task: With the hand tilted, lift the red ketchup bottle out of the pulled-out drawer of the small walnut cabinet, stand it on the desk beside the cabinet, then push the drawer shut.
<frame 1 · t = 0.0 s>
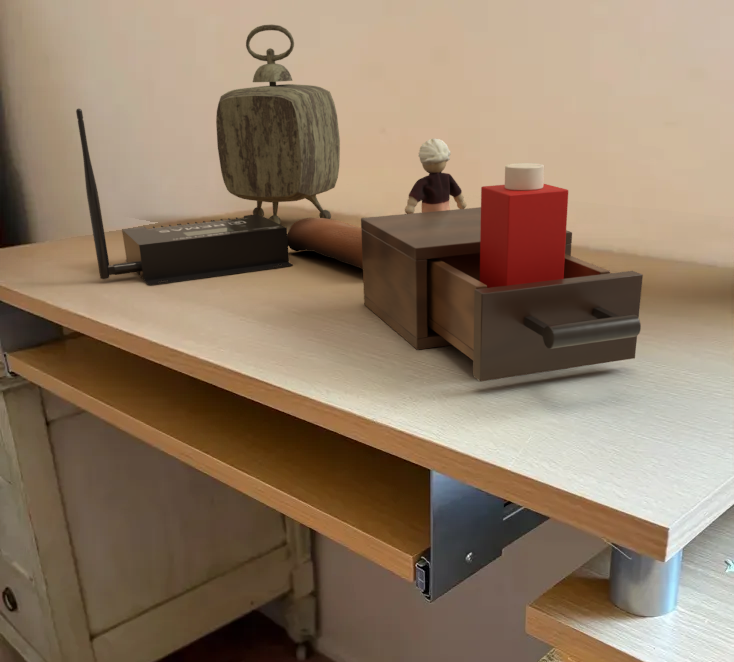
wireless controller: (189, 266, 93), on the table
tabletop clock: (282, 226, 114), on the table
cabinet: (459, 316, 71), on the table
sunglasses case: (356, 262, 92), on the table
ketchup bottle: (518, 328, 60), point 2 cm above the table, touching drawer
rook chess piece: (538, 271, 85), on the table
grandmother figurine: (434, 261, 91), on the table
drawer: (532, 311, 58), point 4 cm above the table, slide at 9.0 cm, touching ketchup bottle
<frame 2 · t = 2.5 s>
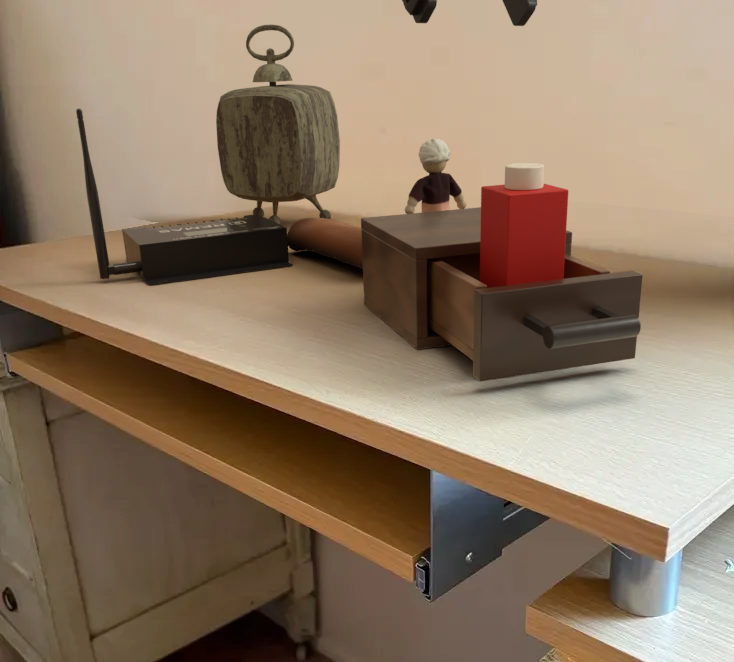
hand: (478, 16, 59), 23 cm above the table, tool tilted 40°, fingers open, 8 cm apart
nothing on the table moved.
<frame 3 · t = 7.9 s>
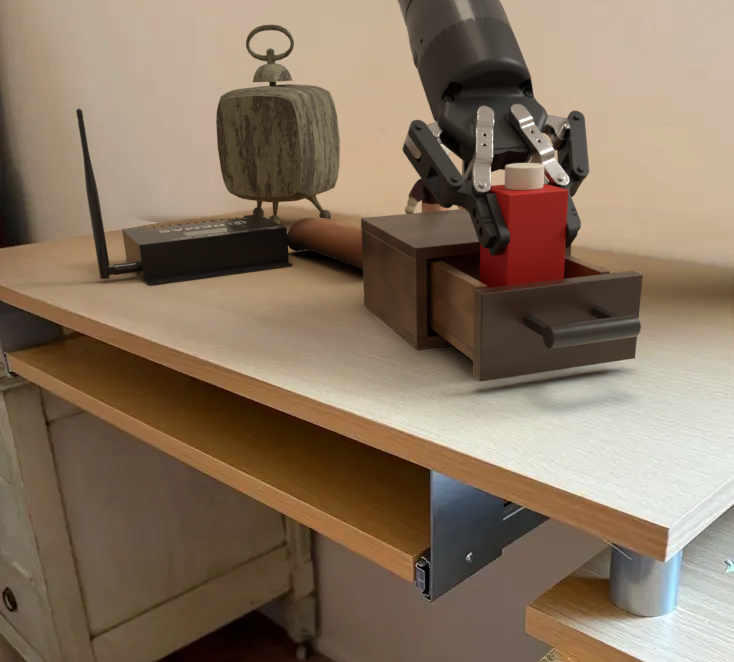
hand: (535, 244, 56), 9 cm above the table, tool tilted 45°, fingers closed on ketchup bottle, 4 cm apart
ketchup bottle: (518, 328, 60), point 2 cm above the table, touching drawer, gripper
everything else where it was.
when the fingers open (6 cm above the table, at t = 15.9 s): ketchup bottle stays where it is, on the table.
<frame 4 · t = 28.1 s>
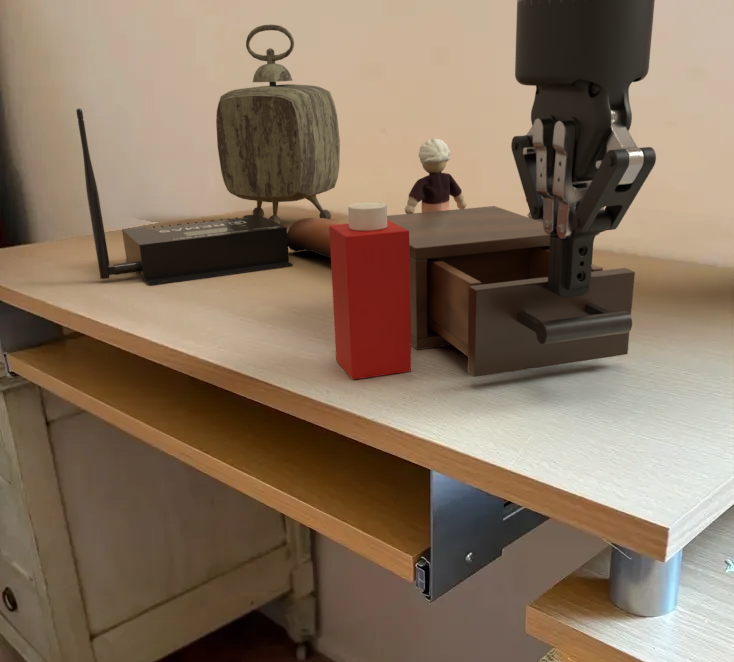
hand: (567, 293, 53), 6 cm above the table, tool pointing down, fingers closed
ketchup bottle: (372, 365, 60), on the table
drawer: (526, 307, 59), point 4 cm above the table, slide at 8.1 cm, touching gripper
everything else where it was.
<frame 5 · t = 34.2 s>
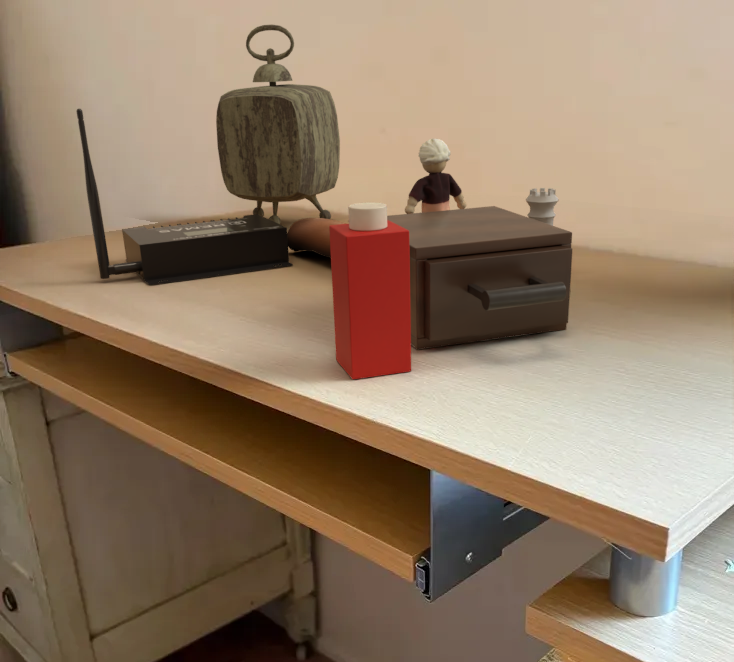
drawer: (478, 281, 66), point 4 cm above the table, slide at 0.0 cm, touching cabinet
everything else where it was.
at the end: ketchup bottle inside the target area (0.1 cm from its centre), on the table; ketchup bottle tilted 0°; drawer slide at 0.0 cm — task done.
